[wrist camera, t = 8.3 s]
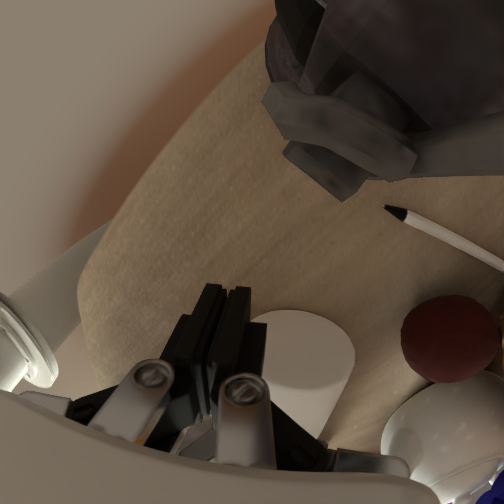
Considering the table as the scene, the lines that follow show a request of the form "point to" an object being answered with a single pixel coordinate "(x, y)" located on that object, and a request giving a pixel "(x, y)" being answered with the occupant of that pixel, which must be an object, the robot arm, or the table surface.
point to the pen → (445, 236)
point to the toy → (494, 492)
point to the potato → (449, 338)
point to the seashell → (502, 335)
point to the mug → (305, 365)
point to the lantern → (387, 89)
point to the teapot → (451, 436)
